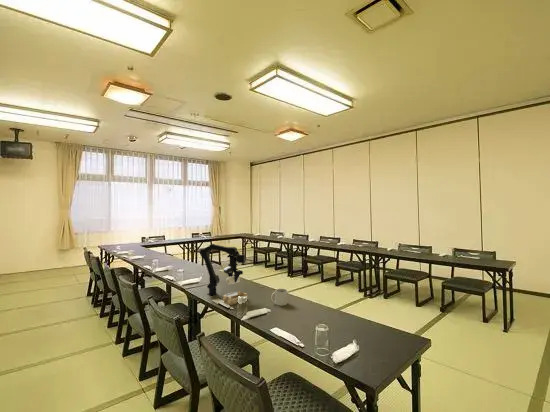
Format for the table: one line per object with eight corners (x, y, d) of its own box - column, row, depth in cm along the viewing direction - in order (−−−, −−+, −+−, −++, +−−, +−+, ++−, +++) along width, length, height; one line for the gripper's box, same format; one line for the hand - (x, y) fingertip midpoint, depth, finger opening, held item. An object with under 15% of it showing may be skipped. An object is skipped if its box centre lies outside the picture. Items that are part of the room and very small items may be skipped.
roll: (230, 285, 219) (230, 277, 219) (225, 283, 224) (225, 276, 224) (240, 282, 227) (240, 275, 227) (235, 281, 231) (235, 274, 231)
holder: (222, 301, 211) (222, 295, 211) (239, 296, 223) (239, 290, 223) (231, 305, 203) (231, 298, 203) (247, 299, 215) (247, 293, 215)
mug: (288, 302, 209) (288, 289, 209) (284, 306, 200) (284, 293, 200) (276, 300, 213) (276, 287, 214) (270, 304, 205) (270, 291, 205)
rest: (223, 296, 223) (223, 294, 224) (236, 292, 233) (236, 291, 233) (229, 298, 217) (229, 297, 217) (242, 295, 226) (242, 293, 226)
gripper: (218, 262, 226) (218, 281, 226) (231, 265, 213) (232, 285, 213) (229, 260, 234) (229, 278, 234) (243, 263, 221) (243, 283, 221)
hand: (233, 281), depth 225 cm, fingers closed on roll, 6 cm apart
